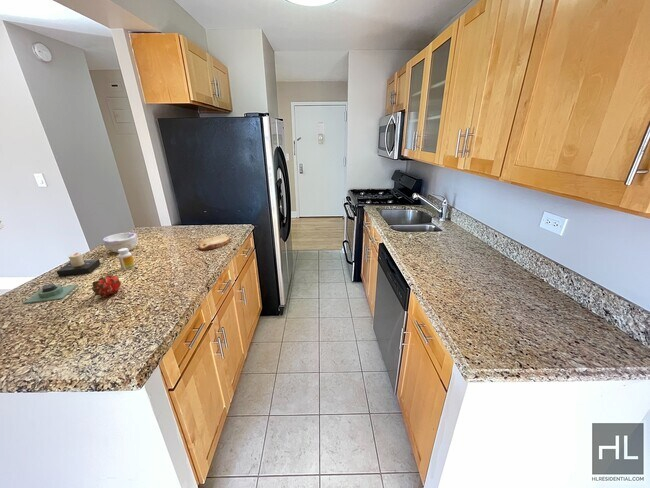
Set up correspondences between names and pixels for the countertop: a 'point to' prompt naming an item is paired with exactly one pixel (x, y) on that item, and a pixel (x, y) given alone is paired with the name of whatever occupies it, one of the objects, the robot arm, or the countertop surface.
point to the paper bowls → (120, 241)
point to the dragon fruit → (106, 285)
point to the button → (49, 288)
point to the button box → (52, 294)
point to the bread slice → (214, 242)
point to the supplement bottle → (125, 259)
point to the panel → (79, 268)
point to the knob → (76, 260)
